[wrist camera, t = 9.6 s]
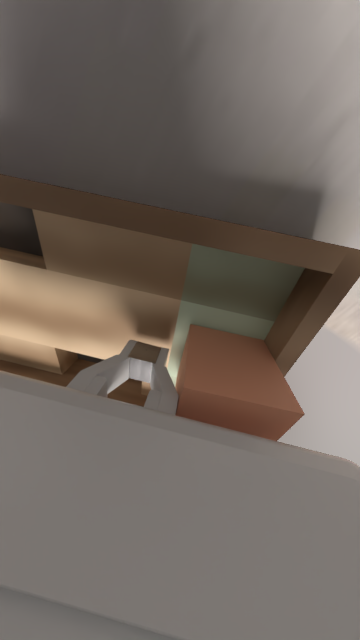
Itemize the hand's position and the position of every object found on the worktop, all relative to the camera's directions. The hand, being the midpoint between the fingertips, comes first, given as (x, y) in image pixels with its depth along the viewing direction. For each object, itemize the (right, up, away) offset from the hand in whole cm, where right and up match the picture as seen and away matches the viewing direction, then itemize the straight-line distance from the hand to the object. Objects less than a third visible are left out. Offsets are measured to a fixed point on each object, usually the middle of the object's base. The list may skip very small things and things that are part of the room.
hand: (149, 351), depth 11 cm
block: (+5, -1, +1) cm, 5 cm away
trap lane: (-8, +4, +3) cm, 9 cm away
